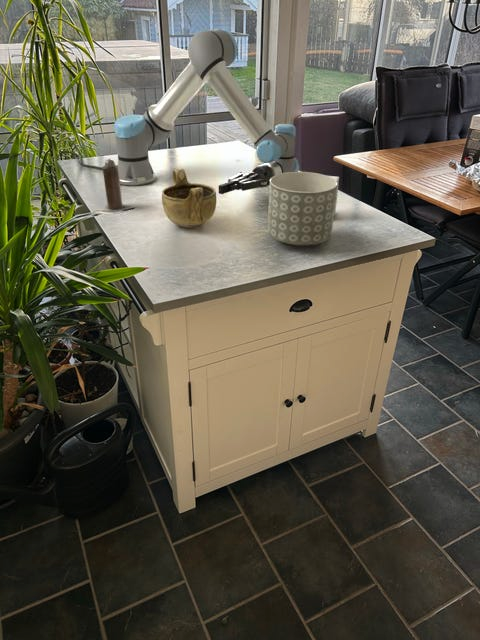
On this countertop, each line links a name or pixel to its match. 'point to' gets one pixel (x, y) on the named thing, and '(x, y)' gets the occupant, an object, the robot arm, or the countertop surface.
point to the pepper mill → (112, 185)
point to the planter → (301, 208)
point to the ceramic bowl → (188, 201)
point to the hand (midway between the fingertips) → (220, 189)
